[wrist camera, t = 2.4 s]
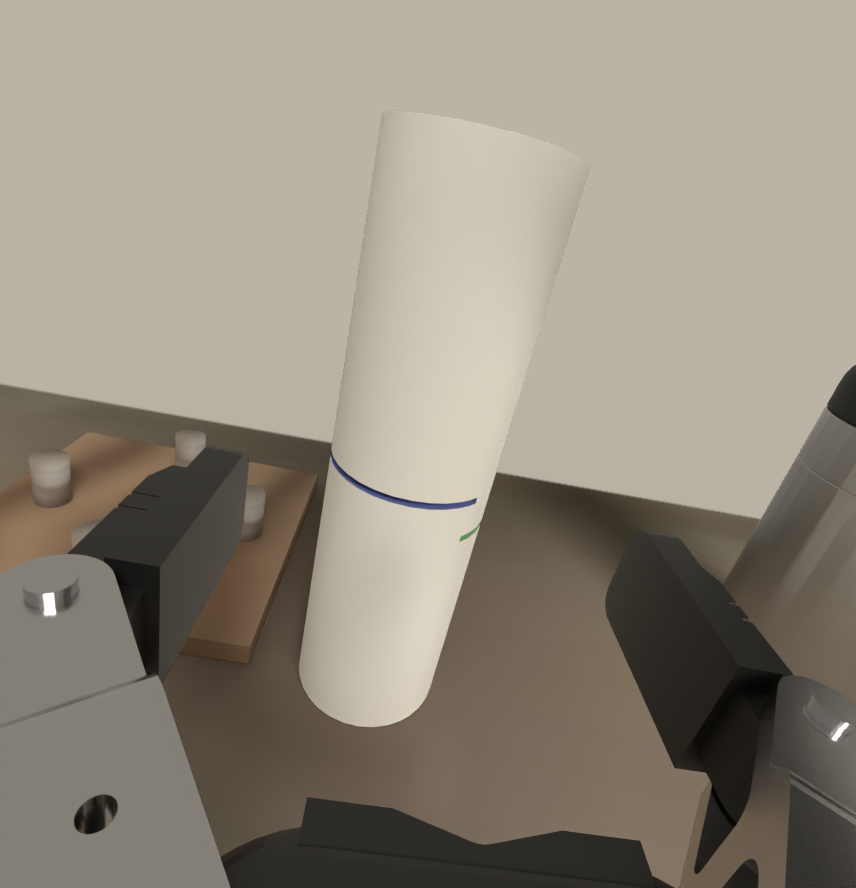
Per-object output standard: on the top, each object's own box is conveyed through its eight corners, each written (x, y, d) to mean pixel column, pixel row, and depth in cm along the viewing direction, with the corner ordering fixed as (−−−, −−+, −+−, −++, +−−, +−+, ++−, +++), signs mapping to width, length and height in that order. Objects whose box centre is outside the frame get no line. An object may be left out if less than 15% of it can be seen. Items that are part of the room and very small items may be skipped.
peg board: (316, 486, 43) (322, 441, 41) (248, 663, 26) (254, 601, 25) (89, 445, 41) (85, 396, 39) (-132, 606, 25) (-155, 535, 23)
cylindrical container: (279, 635, 28) (345, 110, 18) (392, 604, 32) (498, 159, 22) (331, 750, 23) (464, 110, 13) (456, 696, 27) (635, 174, 17)
